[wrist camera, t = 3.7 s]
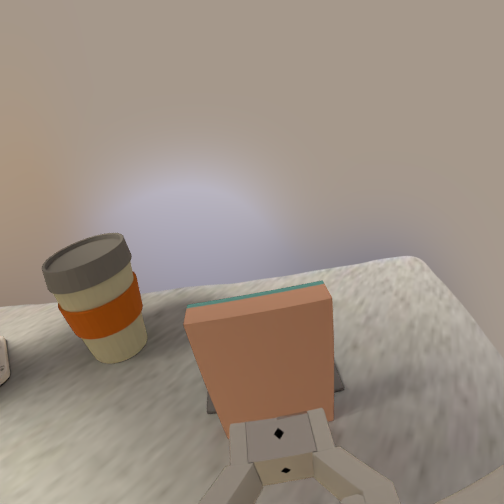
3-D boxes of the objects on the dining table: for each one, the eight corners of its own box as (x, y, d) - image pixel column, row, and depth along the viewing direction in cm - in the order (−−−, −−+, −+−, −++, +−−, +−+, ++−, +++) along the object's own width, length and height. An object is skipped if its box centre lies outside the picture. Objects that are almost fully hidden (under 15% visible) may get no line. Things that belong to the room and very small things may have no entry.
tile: (333, 420, 26) (332, 297, 20) (228, 438, 26) (183, 324, 20) (327, 401, 28) (322, 280, 23) (227, 419, 28) (187, 304, 23)
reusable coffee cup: (87, 383, 35) (35, 284, 29) (80, 337, 45) (44, 254, 39) (170, 349, 40) (133, 246, 34) (147, 310, 50) (118, 226, 44)
